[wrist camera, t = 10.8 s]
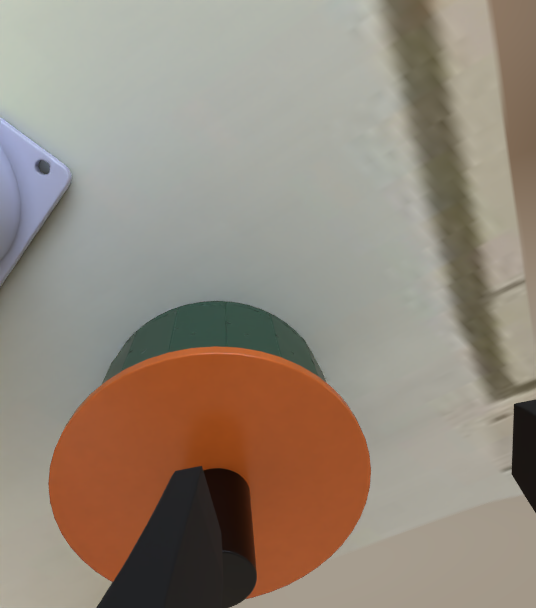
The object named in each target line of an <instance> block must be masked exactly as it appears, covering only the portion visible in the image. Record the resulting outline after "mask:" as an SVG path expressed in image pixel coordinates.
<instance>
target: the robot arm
mask: <svg viewBox="0 0 536 608" xmlns="http://www.w3.org/2000/svg"><path fill="white" fill-rule="evenodd" d="M41 160H44V161H46V162H47V163H48V164H49V166H50V171H49V173H48V174H45V173H42V172H41V170H40V169H39V166H38V165H39V162H40V161H41ZM71 181H72V174H71V172H70V169H69V168H68V167H67V166H66V165H65V164H63V163H62V162H61V161H59V160H58V159H57V158H55V157H54V156H53V155H51V154H50V153H48V152H47V151H46V150H44V149H43V148H42V147H40V146H39V145H38V144H36V143H35V142H34V141H32V140H31V139H29V138H28V137H27V136H25V135H24V134H23V133H21V132H20V131H19V130H17V129H16V128H14V127H13V126H12V125H10V124H9V123H8V122H6V121H5V120H4V119H2V118H1V117H0V287H1V285H2V284H3V282H4V281H5V279H6V278H7V277H8V275H9V274H10V272H11V271H12V269H13V268H14V266H15V265H16V263H17V262H18V260H19V259H20V257H21V256H22V254H23V253H24V251H25V250H26V249H27V247H28V246H29V244H30V243H31V241H32V240H33V238H34V237H35V235H36V234H37V232H38V231H39V229H40V228H41V226H42V225H43V224H44V222H45V221H46V219H47V218H48V216H49V215H50V213H51V212H52V210H53V209H54V207H55V206H56V204H57V203H58V201H59V200H60V198H61V197H62V196H63V194H64V193H65V191H66V190H67V188H68V187H69V185H70V183H71ZM512 475H513V477H514V479H515V480H516V482H517V484H518V485H519V487H520V489H521V490H522V492H523V494H524V495H525V497H526V498H527V500H528V502H529V503H530V505H531V506H532V508H533V509H534V511H535V512H536V400H531V401H526V402H521V403H516V404H514V423H513V451H512ZM222 592H223V560H222V538H221V530H220V526H219V523H218V519H217V516H216V512H215V509H214V506H213V502H212V499H211V495H210V492H209V488H208V485H207V481H206V478H205V475H204V471H203V468H202V466H198V467H193V468H188V469H183V470H177V471H175V472H174V473H173V475H172V476H171V478H170V480H169V482H168V484H167V486H166V488H165V490H164V492H163V494H162V496H161V498H160V500H159V502H158V504H157V506H156V508H155V510H154V512H153V514H152V515H151V517H150V519H149V521H148V523H147V525H146V527H145V528H144V530H143V532H142V534H141V535H140V537H139V539H138V541H137V543H136V544H135V546H134V548H133V550H132V551H131V553H130V555H129V557H128V558H127V560H126V562H125V563H124V565H123V567H122V568H121V570H120V571H119V573H118V575H117V576H116V578H115V579H114V581H113V583H112V584H111V586H110V587H109V589H108V590H107V592H106V594H105V595H104V597H103V598H102V600H101V602H100V603H99V605H98V606H97V608H222Z"/></svg>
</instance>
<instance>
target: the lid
mask: <svg viewBox="0 0 536 608" xmlns="http://www.w3.org/2000/svg"><path fill="white" fill-rule="evenodd" d="M198 466H202V468H203V471H204V475H205V478H206V481H207V485H208V488H209V492H210V495H211V499H212V502H213V506H214V509H215V512H216V516H217V519H218V523H219V526H220V530H221V538H222V560H223V592H222V608H229V607H232V606H234V605H237V604H238V603H240V602H242V601H243V600H244V599H248V598H253V597H256V596H259V595H262V594H266V593H269V592H272V591H274V590H277V589H279V588H281V587H284V586H287V585H289V584H290V583H292V582H294V581H296V580H298V579H300V578H302V577H304V576H305V575H307V574H308V573H309V572H311V571H313V570H314V569H316V568H317V567H318V566H320V565H321V564H322V563H323V562H325V561H326V560H327V559H328V558H329V557H331V556H332V555H333V553H334V552H335V551H336V550H337V549H338V548H339V547H340V546H341V545H342V544H343V543H344V541H345V540H346V539H347V537H348V536H349V535H350V534H351V532H352V531H353V529H354V527H355V525H356V524H357V522H358V520H359V518H360V516H361V514H362V511H363V509H364V506H365V504H366V500H367V496H368V492H369V488H370V475H371V467H370V456H369V451H368V447H367V444H366V440H365V437H364V435H363V433H362V430H361V428H360V426H359V424H358V422H357V419H356V417H355V416H354V414H353V413H352V411H351V410H350V408H349V406H348V405H347V403H346V402H345V401H344V400H343V399H342V398H341V396H340V395H339V394H338V393H337V392H336V391H335V390H334V389H333V388H332V387H331V386H330V385H328V384H327V383H326V382H325V381H323V380H322V379H321V378H320V377H319V376H317V375H315V374H314V373H312V372H310V371H309V370H307V369H305V368H304V367H302V366H300V365H298V364H296V363H293V362H291V361H289V360H286V359H284V358H282V357H279V356H275V355H272V354H268V353H265V352H262V351H257V350H251V349H245V348H239V347H218V346H213V347H199V348H189V349H184V350H178V351H173V352H168V353H165V354H162V355H159V356H156V357H152V358H149V359H146V360H144V361H142V362H140V363H138V364H135V365H133V366H131V367H129V368H127V369H125V370H123V371H121V372H120V373H118V374H117V375H115V376H113V377H112V378H110V379H109V380H107V381H106V382H105V383H103V384H102V385H101V386H100V387H98V388H97V389H96V390H95V391H94V392H92V393H91V394H90V395H89V396H88V397H87V398H86V399H85V401H84V402H83V403H82V404H81V405H80V406H79V407H78V408H77V410H76V411H75V412H74V414H73V415H72V417H71V418H70V420H69V421H68V423H67V424H66V426H65V428H64V430H63V432H62V434H61V437H60V439H59V441H58V443H57V445H56V447H55V450H54V454H53V457H52V461H51V465H50V473H49V495H50V503H51V507H52V511H53V514H54V518H55V520H56V522H57V525H58V527H59V529H60V531H61V533H62V535H63V536H64V538H65V539H66V541H67V542H68V544H69V545H70V547H71V548H72V549H73V550H74V551H75V553H76V554H77V555H78V556H79V557H80V558H81V559H82V560H83V561H84V562H85V563H86V564H88V565H89V566H90V567H91V568H92V569H93V570H95V571H96V572H97V573H99V574H100V575H102V576H104V577H105V578H107V579H108V580H110V581H112V582H113V581H114V579H115V578H116V576H117V575H118V573H119V571H120V570H121V568H122V567H123V565H124V563H125V562H126V560H127V558H128V557H129V555H130V553H131V551H132V550H133V548H134V546H135V544H136V543H137V541H138V539H139V537H140V535H141V534H142V532H143V530H144V528H145V527H146V525H147V523H148V521H149V519H150V517H151V515H152V514H153V512H154V510H155V508H156V506H157V504H158V502H159V500H160V498H161V496H162V494H163V492H164V490H165V488H166V486H167V484H168V482H169V480H170V478H171V476H172V475H173V473H174V472H175V471H177V470H183V469H188V468H193V467H198Z"/></svg>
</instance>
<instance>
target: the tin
mask: <svg viewBox="0 0 536 608" xmlns="http://www.w3.org/2000/svg"><path fill="white" fill-rule="evenodd" d="M213 346H218V347H239V348H245V349H251V350H257V351H262V352H265V353H268V354H272V355H275V356H279V357H282V358H284V359H286V360H289V361H291V362H293V363H296V364H298V365H300V366H302V367H304V368H305V369H307V370H309V371H310V372H312V373H314V374H315V375H317V376H319V377H320V378H321V379H322V380H323V381H325V382H326V380H325V378H324V375H323V373H322V371H321V369H320V367H319V365H318V363H317V362H316V360H315V358H314V356H313V354H312V352H311V350H310V349H309V347H308V345H307V344H306V342H305V340H304V339H303V338H302V337H300V335H299V334H298V333H297V332H296V331H295V330H294V329H292V328H291V327H290V326H289V325H288V324H287V323H285V322H284V321H282V320H281V319H279V318H277V317H276V316H274V315H272V314H270V313H268V312H266V311H264V310H261V309H258V308H255V307H252V306H249V305H245V304H240V303H234V302H223V301H211V302H200V303H194V304H188V305H185V306H181V307H178V308H175V309H172V310H170V311H168V312H165V313H163V314H161V315H159V316H157V317H156V318H154V319H152V320H151V321H149V322H148V323H146V324H145V325H144V326H142V327H141V328H140V329H139V330H138V331H136V332H135V333H134V334H133V335H132V337H131V338H130V339H129V340H128V341H127V342H126V343H125V345H124V346H123V348H122V349H121V351H120V352H119V354H118V355H117V357H116V358H115V359H114V360H113V362H112V363H111V365H110V368H109V370H108V372H107V374H106V376H105V379H104V381H103V383H105V382H106V381H107V380H109V379H110V378H112V377H113V376H115V375H117V374H118V373H120V372H121V371H123V370H125V369H127V368H129V367H131V366H133V365H135V364H138V363H140V362H142V361H144V360H146V359H149V358H152V357H156V356H159V355H162V354H165V353H168V352H173V351H178V350H184V349H189V348H199V347H213ZM103 383H102V384H103ZM326 383H327V382H326Z"/></svg>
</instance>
